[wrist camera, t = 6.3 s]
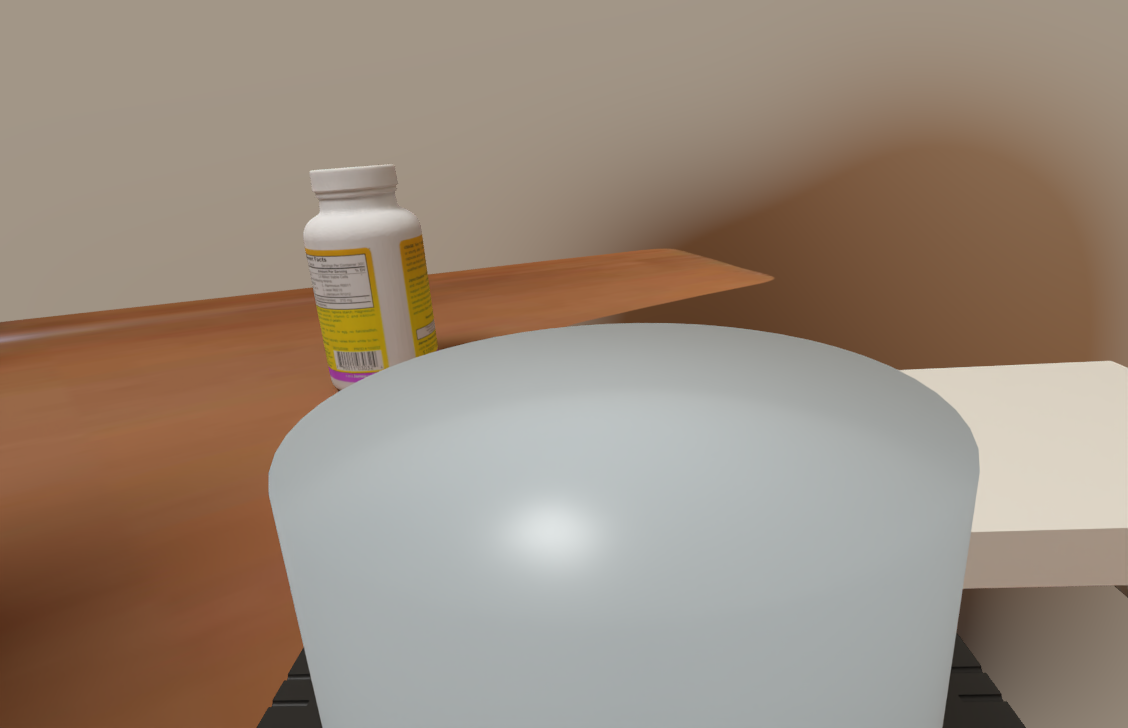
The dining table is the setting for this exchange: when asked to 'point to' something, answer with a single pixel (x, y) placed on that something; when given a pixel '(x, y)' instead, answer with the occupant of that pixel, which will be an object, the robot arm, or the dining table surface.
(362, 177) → the supplement bottle
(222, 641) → the dining table surface
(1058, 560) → the white riser stand
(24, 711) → the dining table surface
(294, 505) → the white rounded cylinder
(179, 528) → the dining table surface
